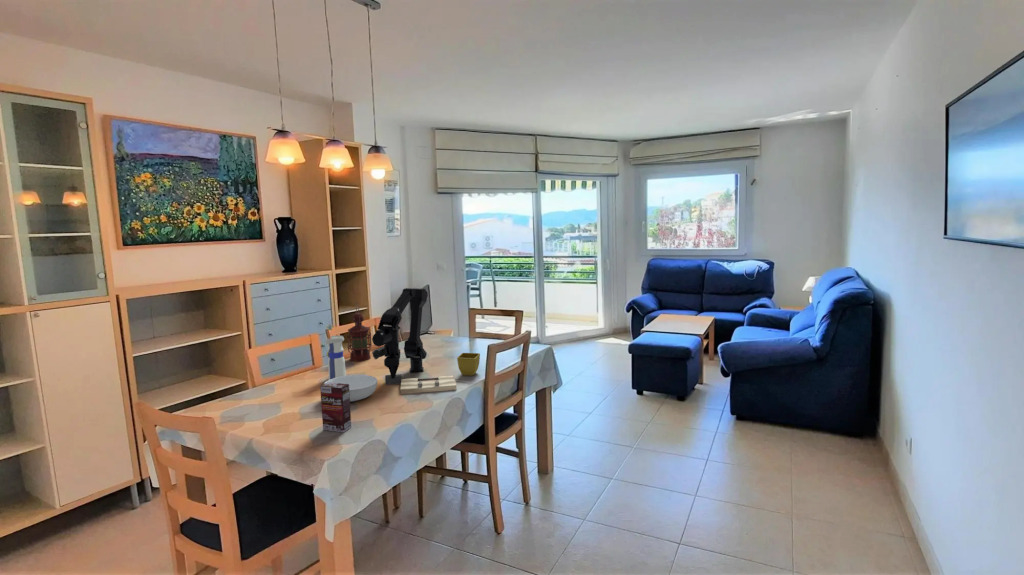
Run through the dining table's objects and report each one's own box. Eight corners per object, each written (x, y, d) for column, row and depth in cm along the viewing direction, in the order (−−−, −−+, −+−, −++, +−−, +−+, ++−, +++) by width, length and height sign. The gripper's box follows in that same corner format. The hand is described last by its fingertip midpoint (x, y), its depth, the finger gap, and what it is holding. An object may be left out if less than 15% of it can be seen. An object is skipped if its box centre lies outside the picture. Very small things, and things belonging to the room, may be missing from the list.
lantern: (346, 357, 272) (342, 301, 268) (369, 354, 278) (366, 299, 274) (350, 363, 261) (346, 304, 257) (374, 359, 267) (371, 302, 263)
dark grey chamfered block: (385, 382, 229) (385, 375, 228) (402, 381, 230) (401, 374, 230) (385, 384, 226) (385, 377, 226) (401, 383, 227) (401, 376, 227)
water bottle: (323, 380, 233) (319, 326, 230) (335, 375, 241) (331, 322, 238) (338, 381, 231) (335, 327, 228) (350, 376, 239) (347, 323, 236)
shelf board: (401, 383, 227) (401, 375, 226) (454, 379, 231) (453, 371, 230) (400, 394, 213) (400, 385, 213) (456, 389, 217) (456, 381, 217)
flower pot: (475, 377, 234) (475, 358, 233) (457, 376, 236) (456, 357, 234) (480, 371, 242) (480, 353, 241) (462, 371, 244) (462, 352, 243)
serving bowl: (357, 409, 196) (356, 392, 195) (313, 404, 204) (311, 387, 203) (388, 392, 216) (387, 376, 215) (347, 387, 223) (346, 372, 222)
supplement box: (322, 430, 177) (319, 386, 175) (330, 425, 182) (327, 381, 180) (344, 432, 175) (341, 387, 173) (352, 427, 179) (349, 383, 177)
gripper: (374, 337, 233) (376, 370, 235) (371, 347, 215) (373, 383, 217) (399, 336, 235) (401, 369, 237) (398, 345, 217) (400, 381, 219)
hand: (393, 375), depth 228 cm, fingers open, 9 cm apart
